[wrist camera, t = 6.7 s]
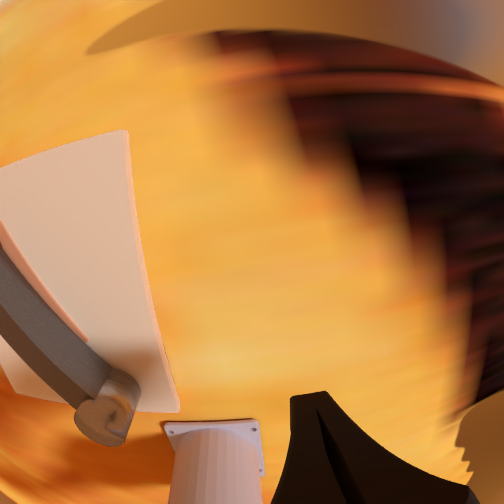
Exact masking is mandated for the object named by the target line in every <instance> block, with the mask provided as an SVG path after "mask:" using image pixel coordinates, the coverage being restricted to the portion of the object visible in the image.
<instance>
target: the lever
mask: <svg viewBox="0 0 504 504" xmlns="http://www.w3.org/2000/svg"><path fill="white" fill-rule="evenodd" d="M0 335H1V336H2V337H3V339H4V340H5V341H6V342H7V343H8V344H9V346H10V347H11V348H12V349H13V350H14V351H15V352H16V353H17V354H18V356H19V357H20V358H21V359H22V360H23V361H24V362H25V363H26V364H27V365H28V366H29V367H30V368H31V369H32V370H33V371H34V372H35V373H36V374H37V375H38V376H39V377H40V378H41V379H42V380H43V381H44V382H45V383H46V384H47V385H48V386H49V387H51V388H52V389H53V390H54V391H55V392H56V393H57V394H58V395H59V396H61V397H62V398H63V399H64V400H65V401H66V402H68V403H69V404H70V405H71V406H72V407H74V408H75V409H76V410H77V411H76V412H75V414H74V421H75V424H76V426H77V427H78V428H79V430H80V431H81V432H82V433H83V434H84V435H85V436H87V437H88V438H90V439H91V440H93V441H95V442H97V443H99V444H102V445H105V446H111V447H116V446H120V445H122V444H123V443H124V442H125V439H126V436H127V433H128V430H129V427H130V425H131V422H132V419H133V416H134V413H135V411H136V408H137V405H138V402H139V400H140V397H141V389H140V386H139V384H138V383H137V381H136V380H135V379H134V378H133V377H132V376H131V375H129V374H128V373H126V372H124V371H122V370H120V369H116V368H112V367H111V366H110V365H109V364H108V363H106V362H105V361H104V360H103V359H102V358H101V357H100V356H99V355H97V354H96V353H95V352H94V351H93V350H92V349H91V348H90V347H89V346H88V345H87V344H86V343H85V342H84V341H82V340H81V339H80V338H79V337H78V336H77V335H76V334H75V333H74V332H73V331H72V330H71V329H70V328H69V327H68V326H67V325H66V324H65V323H64V322H63V320H62V319H61V318H60V317H59V316H58V315H57V314H56V313H55V312H54V311H53V310H52V309H51V308H50V307H49V305H48V304H47V303H46V302H45V301H44V300H43V299H42V297H41V296H40V295H39V294H38V293H37V292H36V291H35V289H34V288H33V287H32V286H31V285H30V283H29V282H28V281H27V280H26V278H25V277H24V276H23V275H22V273H21V272H20V271H19V270H18V268H17V267H16V266H15V264H14V263H13V262H12V260H11V259H10V258H9V256H8V255H7V254H6V252H5V251H4V249H3V248H2V245H1V242H0Z"/></svg>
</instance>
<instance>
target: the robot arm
mask: <svg viewBox="0 0 504 504" xmlns="http://www.w3.org/2000/svg"><path fill="white" fill-rule="evenodd" d="M164 429H165V432H166V434H167V436H168V438H169V441H170V443H171V445H172V447H173V449H174V452H175V454H176V456H175V462H174V468H173V474H172V480H171V487H170V493H169V500H168V504H263V503H262V492H261V482H260V477H263V476H265V468H264V460H263V452H262V444H261V436H260V427H259V422H258V421H257V420H255V419H250V420H238V421H221V422H166V423H165V424H164ZM170 430H171V431H170ZM290 430H291V436H290V443H289V448H288V452H287V457H286V461H285V465H284V468H283V472H282V475H281V478H280V481H279V484H278V486H277V489H276V492H275V494H274V497H273V499H272V501H271V504H480V503H479V501H478V500H477V498H476V496H475V494H474V493H473V491H472V490H471V489H470V488H469V487H468V486H466V485H462V484H458V483H455V482H451V481H448V480H445V479H442V478H439V477H437V476H434V475H431V474H429V473H427V472H425V471H423V470H421V469H419V468H417V467H414V466H412V465H410V464H409V463H407V462H405V461H403V460H402V459H400V458H398V457H397V456H395V455H394V454H392V453H391V452H389V451H388V450H386V449H385V448H384V447H382V446H381V445H380V444H378V443H377V442H376V441H375V440H373V439H372V438H371V437H370V436H369V435H367V434H366V433H365V432H364V431H363V430H362V429H361V428H360V427H359V426H358V425H357V424H356V423H355V422H354V421H353V420H352V419H351V418H350V417H349V416H348V415H347V414H346V413H345V412H344V411H343V410H342V409H341V408H340V407H339V405H338V404H337V403H336V402H335V401H334V400H333V398H332V397H331V396H330V395H329V393H328V392H326V391H321V392H315V393H309V394H303V395H296V396H292V397H291V398H290Z"/></svg>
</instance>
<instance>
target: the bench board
mask: <svg viewBox="0 0 504 504" xmlns="http://www.w3.org/2000/svg"><path fill="white" fill-rule="evenodd" d="M0 242H1V245H2V248H3V249H4V251H5V252H6V254H7V255H8V256H9V258H10V259H11V260H12V262H13V263H14V264H15V266H16V267H17V268H18V270H19V271H20V272H21V273H22V275H23V276H24V277H25V278H26V280H27V281H28V282H29V283H30V285H31V286H32V287H33V288H34V289H35V291H36V292H37V293H38V294H39V295H40V296H41V297H42V299H43V300H44V301H45V302H46V303H47V304H48V305H49V307H50V308H51V309H52V310H53V311H54V312H55V313H56V314H57V315H58V316H59V317H60V318H61V319H62V320H63V322H64V323H65V324H66V325H67V326H68V327H69V328H70V329H71V330H72V331H73V332H74V333H75V334H76V335H77V336H78V337H79V338H80V339H81V340H82V341H84V342H85V343H86V344H87V345H88V346H89V347H90V348H91V349H92V350H93V351H94V352H95V353H96V354H97V355H99V356H100V357H101V358H102V359H103V360H104V361H105V362H106V363H108V364H109V365H110V366H111V367H112V368H116V369H120V370H122V371H124V372H126V373H128V374H129V375H131V376H132V377H133V378H134V379H135V380H136V381H137V383H138V384H139V386H140V389H141V397H140V400H139V402H138V405H137V408H136V411H139V412H166V413H179V410H180V405H181V404H180V400H179V397H178V394H177V391H176V388H175V385H174V381H173V378H172V375H171V371H170V368H169V364H168V361H167V357H166V353H165V350H164V346H163V342H162V338H161V334H160V330H159V326H158V322H157V318H156V314H155V309H154V305H153V300H152V296H151V291H150V286H149V282H148V277H147V271H146V266H145V261H144V255H143V250H142V244H141V238H140V231H139V225H138V218H137V211H136V203H135V195H134V187H133V178H132V168H131V157H130V145H129V131H126V130H123V129H121V130H117V131H113V132H109V133H105V134H101V135H97V136H93V137H89V138H86V139H82V140H79V141H75V142H72V143H69V144H65V145H62V146H59V147H56V148H53V149H50V150H47V151H44V152H41V153H38V154H35V155H32V156H30V157H27V158H24V159H22V160H19V161H16V162H14V163H11V164H9V165H6V166H4V167H2V168H0ZM0 364H1V366H2V368H3V370H4V372H5V374H6V376H7V378H8V380H9V382H10V384H11V386H12V388H13V390H14V391H15V393H17V394H21V395H25V396H29V397H34V398H38V399H43V400H48V401H54V402H59V403H65V404H69V403H68V402H66V401H65V400H64V399H63V398H62V397H61V396H59V395H58V394H57V393H56V392H55V391H54V390H53V389H52V388H51V387H49V386H48V385H47V384H46V383H45V382H44V381H43V380H42V379H41V378H40V377H39V376H38V375H37V374H36V373H35V372H34V371H33V370H32V369H31V368H30V367H29V366H28V365H27V364H26V363H25V362H24V361H23V360H22V359H21V358H20V357H19V356H18V354H17V353H16V352H15V351H14V350H13V349H12V348H11V347H10V346H9V344H8V343H7V342H6V341H5V340H4V339H3V337H2V336H1V335H0Z"/></svg>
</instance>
